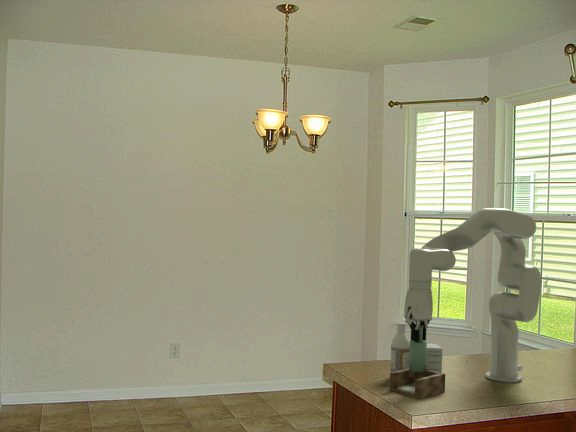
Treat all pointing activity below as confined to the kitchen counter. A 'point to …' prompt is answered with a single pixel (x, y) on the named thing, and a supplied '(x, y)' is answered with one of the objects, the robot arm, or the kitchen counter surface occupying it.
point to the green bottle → (418, 353)
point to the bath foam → (400, 349)
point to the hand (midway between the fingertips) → (418, 340)
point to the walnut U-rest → (417, 383)
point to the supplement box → (434, 358)
